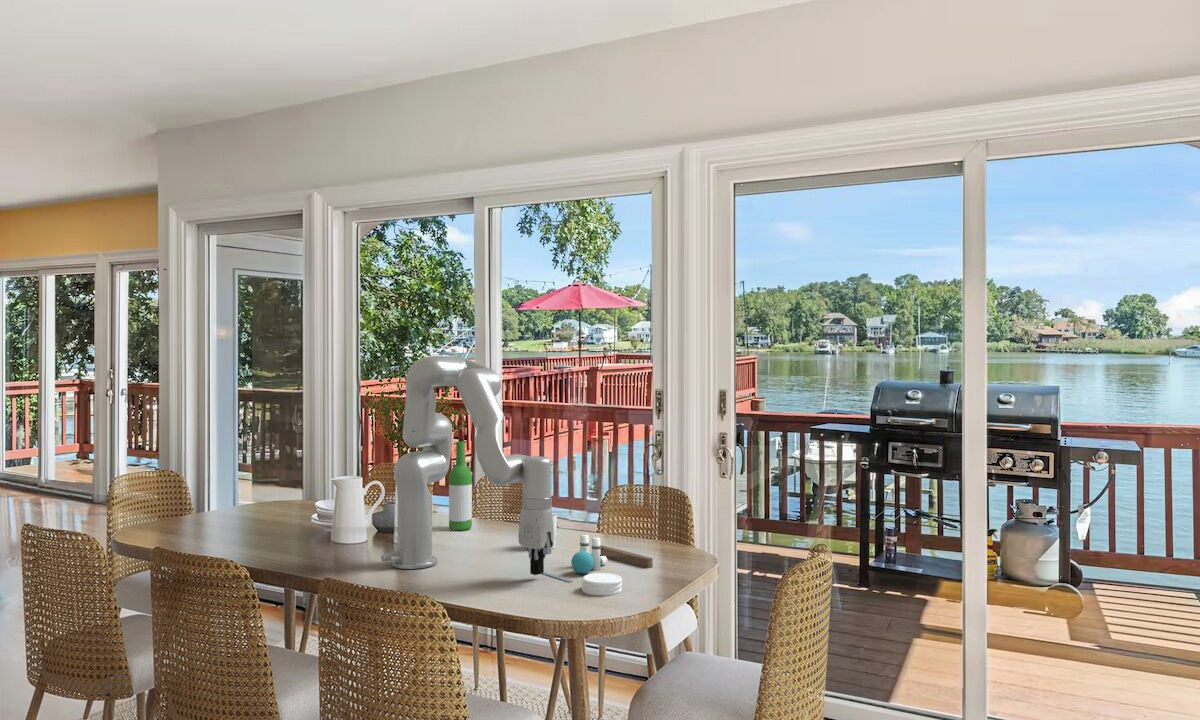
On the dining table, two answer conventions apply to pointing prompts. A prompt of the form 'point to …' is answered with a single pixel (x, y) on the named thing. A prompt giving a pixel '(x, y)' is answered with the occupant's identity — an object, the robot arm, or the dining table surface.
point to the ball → (582, 562)
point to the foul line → (557, 577)
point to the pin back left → (584, 543)
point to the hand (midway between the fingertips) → (537, 573)
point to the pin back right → (596, 553)
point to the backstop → (626, 557)
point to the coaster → (602, 584)
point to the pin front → (603, 560)
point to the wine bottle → (460, 492)
